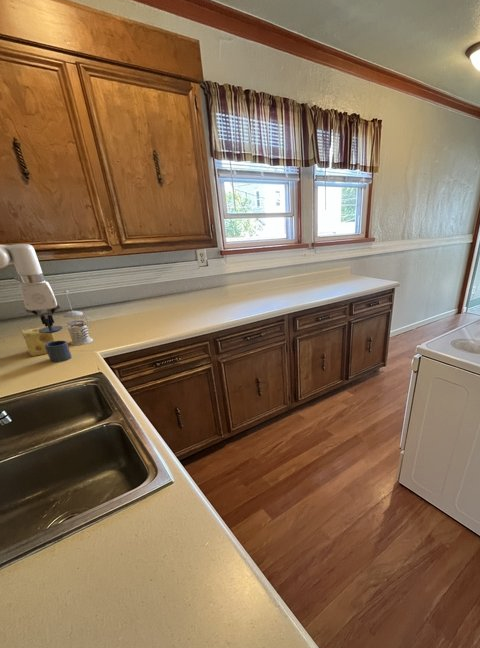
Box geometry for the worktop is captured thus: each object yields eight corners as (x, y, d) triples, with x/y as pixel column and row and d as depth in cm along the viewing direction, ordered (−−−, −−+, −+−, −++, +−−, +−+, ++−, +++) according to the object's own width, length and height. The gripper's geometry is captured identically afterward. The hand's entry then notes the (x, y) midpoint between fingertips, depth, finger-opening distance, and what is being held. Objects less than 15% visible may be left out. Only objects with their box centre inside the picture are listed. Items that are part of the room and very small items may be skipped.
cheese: (31, 357, 143) (22, 335, 139) (28, 350, 150) (20, 329, 146) (59, 351, 149) (51, 330, 145) (55, 345, 157) (48, 325, 152)
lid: (39, 335, 130) (33, 320, 127) (40, 330, 136) (34, 316, 133) (63, 332, 134) (58, 317, 131) (63, 327, 140) (58, 313, 137)
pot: (50, 364, 136) (44, 348, 132) (51, 358, 142) (45, 342, 138) (72, 361, 140) (66, 344, 136) (71, 355, 145) (66, 339, 142)
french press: (65, 343, 159) (47, 291, 147) (86, 336, 168) (71, 286, 157) (80, 346, 156) (62, 293, 144) (100, 338, 165) (86, 288, 154)
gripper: (5, 282, 119) (25, 330, 127) (56, 278, 126) (71, 324, 134) (8, 279, 124) (26, 326, 133) (56, 275, 132) (71, 320, 140)
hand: (49, 325), depth 134 cm, fingers closed on lid, 1 cm apart
